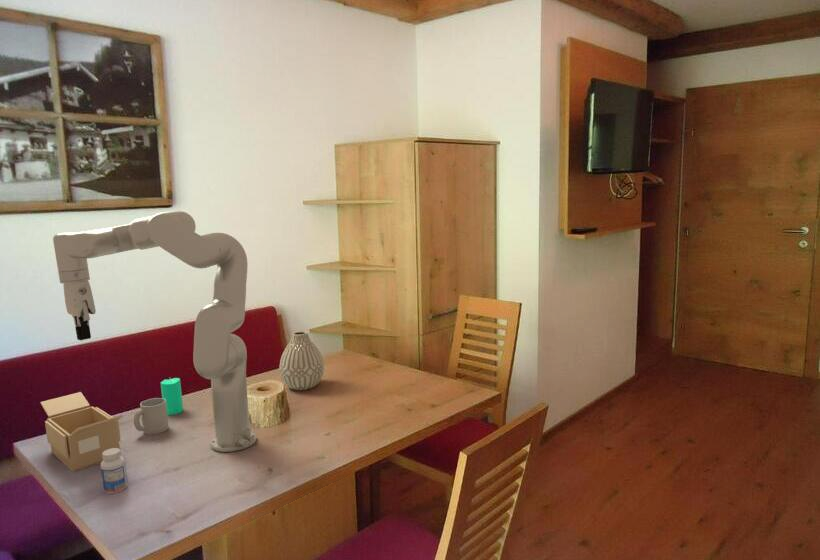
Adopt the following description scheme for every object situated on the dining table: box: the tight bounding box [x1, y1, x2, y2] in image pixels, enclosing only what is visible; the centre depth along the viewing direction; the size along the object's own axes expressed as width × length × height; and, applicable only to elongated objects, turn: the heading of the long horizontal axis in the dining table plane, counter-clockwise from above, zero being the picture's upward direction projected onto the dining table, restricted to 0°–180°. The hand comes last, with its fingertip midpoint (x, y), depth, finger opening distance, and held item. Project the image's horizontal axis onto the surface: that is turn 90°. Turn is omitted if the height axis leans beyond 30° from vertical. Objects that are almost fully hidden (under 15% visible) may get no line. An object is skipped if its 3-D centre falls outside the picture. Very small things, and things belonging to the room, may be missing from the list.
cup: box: [133, 397, 169, 436], centre depth 183 cm, size 7×10×9 cm
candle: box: [160, 377, 184, 416], centre depth 199 cm, size 6×6×12 cm
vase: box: [278, 330, 325, 391], centre depth 218 cm, size 16×16×20 cm
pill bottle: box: [100, 448, 129, 494], centre depth 149 cm, size 6×5×10 cm
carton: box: [44, 406, 122, 472], centre depth 169 cm, size 18×14×10 cm
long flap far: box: [40, 391, 91, 418], centre depth 176 cm, size 1×11×7 cm
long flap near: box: [71, 414, 124, 435], centre depth 159 cm, size 1×11×7 cm
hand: (84, 338), depth 174 cm, fingers closed
